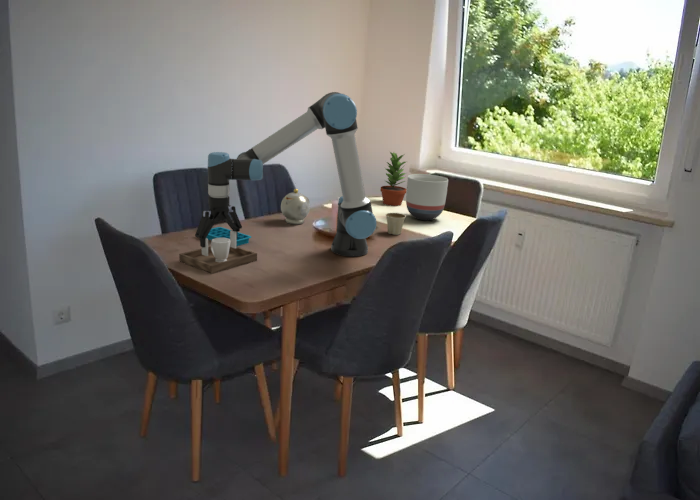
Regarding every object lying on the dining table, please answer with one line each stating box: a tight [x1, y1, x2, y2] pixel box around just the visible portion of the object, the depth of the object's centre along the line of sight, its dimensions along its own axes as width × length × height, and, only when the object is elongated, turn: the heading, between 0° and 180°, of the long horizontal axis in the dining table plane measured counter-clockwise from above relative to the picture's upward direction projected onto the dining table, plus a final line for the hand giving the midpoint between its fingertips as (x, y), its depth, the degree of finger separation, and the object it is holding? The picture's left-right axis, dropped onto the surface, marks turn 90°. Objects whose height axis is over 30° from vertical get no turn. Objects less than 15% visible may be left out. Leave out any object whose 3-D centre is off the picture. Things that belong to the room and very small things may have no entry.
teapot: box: [280, 188, 311, 226], centre depth 283 cm, size 18×14×16 cm
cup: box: [210, 238, 231, 263], centre depth 223 cm, size 7×10×8 cm
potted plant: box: [380, 150, 407, 207], centre depth 332 cm, size 15×15×30 cm
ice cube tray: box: [206, 226, 252, 247], centre depth 250 cm, size 12×20×3 cm, turn 54°
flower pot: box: [385, 212, 407, 236], centre depth 276 cm, size 9×9×9 cm
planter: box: [405, 173, 449, 221], centre depth 304 cm, size 20×20×21 cm
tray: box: [178, 245, 258, 275], centre depth 223 cm, size 18×22×3 cm
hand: (219, 251), depth 223 cm, fingers open, 13 cm apart
